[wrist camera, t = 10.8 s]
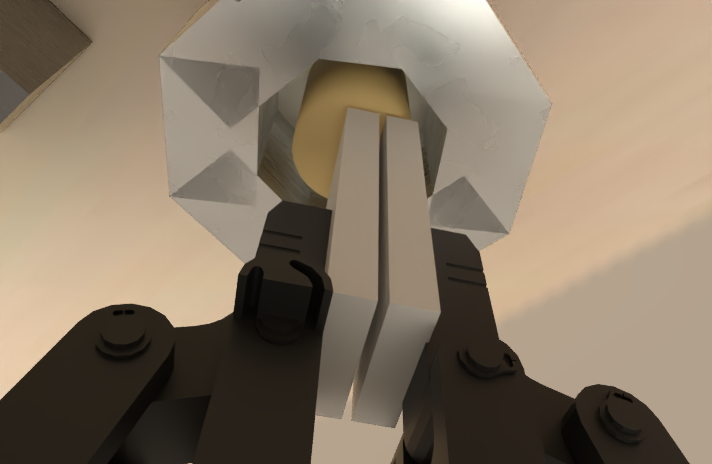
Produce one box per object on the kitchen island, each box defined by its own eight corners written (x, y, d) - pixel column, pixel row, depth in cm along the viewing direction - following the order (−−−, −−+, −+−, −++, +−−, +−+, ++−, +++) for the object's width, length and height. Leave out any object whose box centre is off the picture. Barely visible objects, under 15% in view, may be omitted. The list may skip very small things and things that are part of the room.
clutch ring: (139, 64, 18) (85, 122, 14) (384, -163, 14) (387, -155, 11) (333, 256, 22) (326, 336, 18) (560, 115, 18) (602, 182, 15)
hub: (244, 23, 22) (178, 132, 14) (375, -92, 20) (377, -32, 12) (347, 140, 24) (336, 283, 17) (473, 52, 22) (522, 172, 15)
